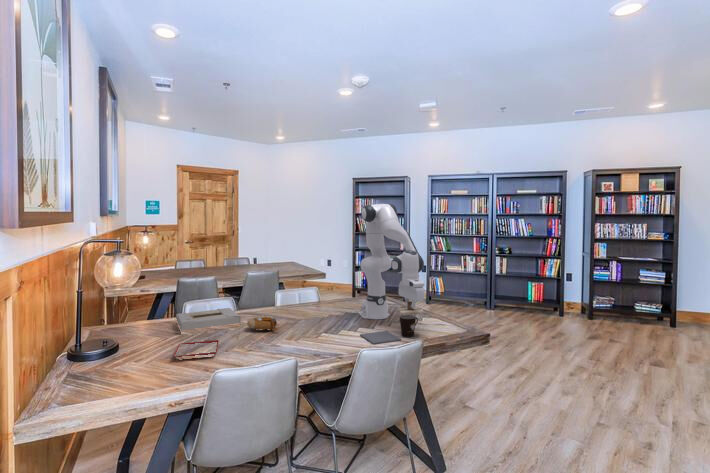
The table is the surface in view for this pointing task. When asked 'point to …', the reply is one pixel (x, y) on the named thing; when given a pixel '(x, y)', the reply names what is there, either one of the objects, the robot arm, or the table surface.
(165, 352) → the table surface
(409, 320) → the coffee mug
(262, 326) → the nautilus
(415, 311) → the lid
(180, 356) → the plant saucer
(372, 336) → the mat
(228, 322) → the box
